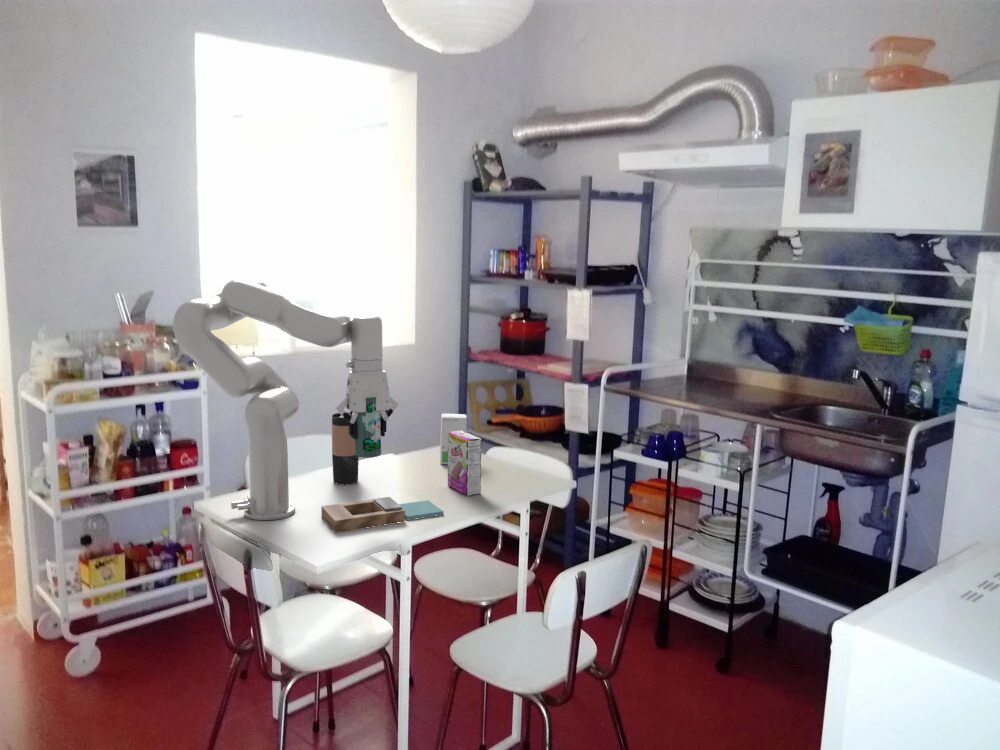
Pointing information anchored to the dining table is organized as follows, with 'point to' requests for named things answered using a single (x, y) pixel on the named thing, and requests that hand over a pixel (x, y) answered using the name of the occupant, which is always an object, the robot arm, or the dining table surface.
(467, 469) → the candy bar box
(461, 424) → the skincare box
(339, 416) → the travel mug
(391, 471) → the dining table surface
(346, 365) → the robot arm
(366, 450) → the can
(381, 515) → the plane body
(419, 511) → the rubber mat
